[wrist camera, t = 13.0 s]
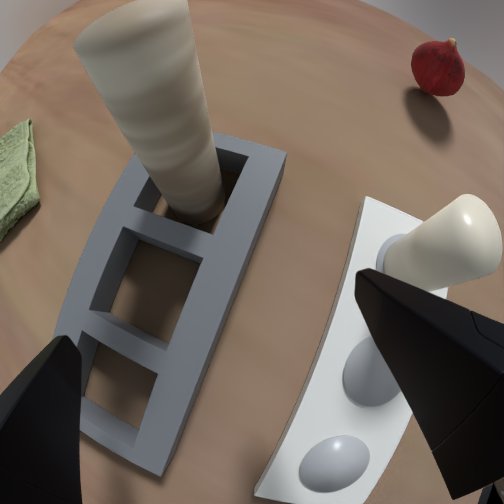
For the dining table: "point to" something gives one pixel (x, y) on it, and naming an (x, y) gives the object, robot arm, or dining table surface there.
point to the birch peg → (158, 99)
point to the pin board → (195, 308)
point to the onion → (438, 67)
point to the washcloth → (17, 175)
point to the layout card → (371, 353)
